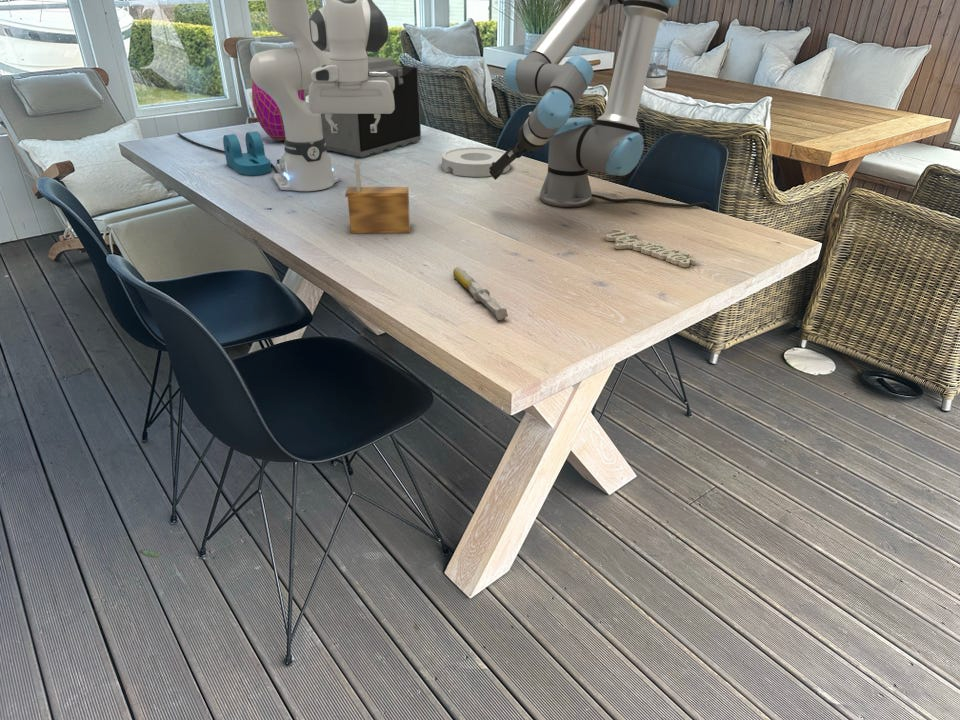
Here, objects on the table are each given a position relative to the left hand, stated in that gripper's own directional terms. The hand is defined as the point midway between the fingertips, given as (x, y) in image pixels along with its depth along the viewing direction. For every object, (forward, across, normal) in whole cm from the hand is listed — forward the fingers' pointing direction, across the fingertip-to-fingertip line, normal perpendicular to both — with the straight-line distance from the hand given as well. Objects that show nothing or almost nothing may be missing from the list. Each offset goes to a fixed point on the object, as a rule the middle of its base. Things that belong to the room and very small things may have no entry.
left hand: (354, 132), depth 167 cm
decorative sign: (+25, -71, +17) cm, 77 cm away
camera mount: (+25, +43, -60) cm, 77 cm away
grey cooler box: (+25, +6, -91) cm, 95 cm away
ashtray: (+25, -32, -60) cm, 73 cm away
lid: (+15, -5, 0) cm, 16 cm away
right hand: (+12, -40, -19) cm, 46 cm away
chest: (+25, -5, 0) cm, 25 cm away
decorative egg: (+25, +40, -101) cm, 111 cm away
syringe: (+25, -29, +42) cm, 57 cm away
